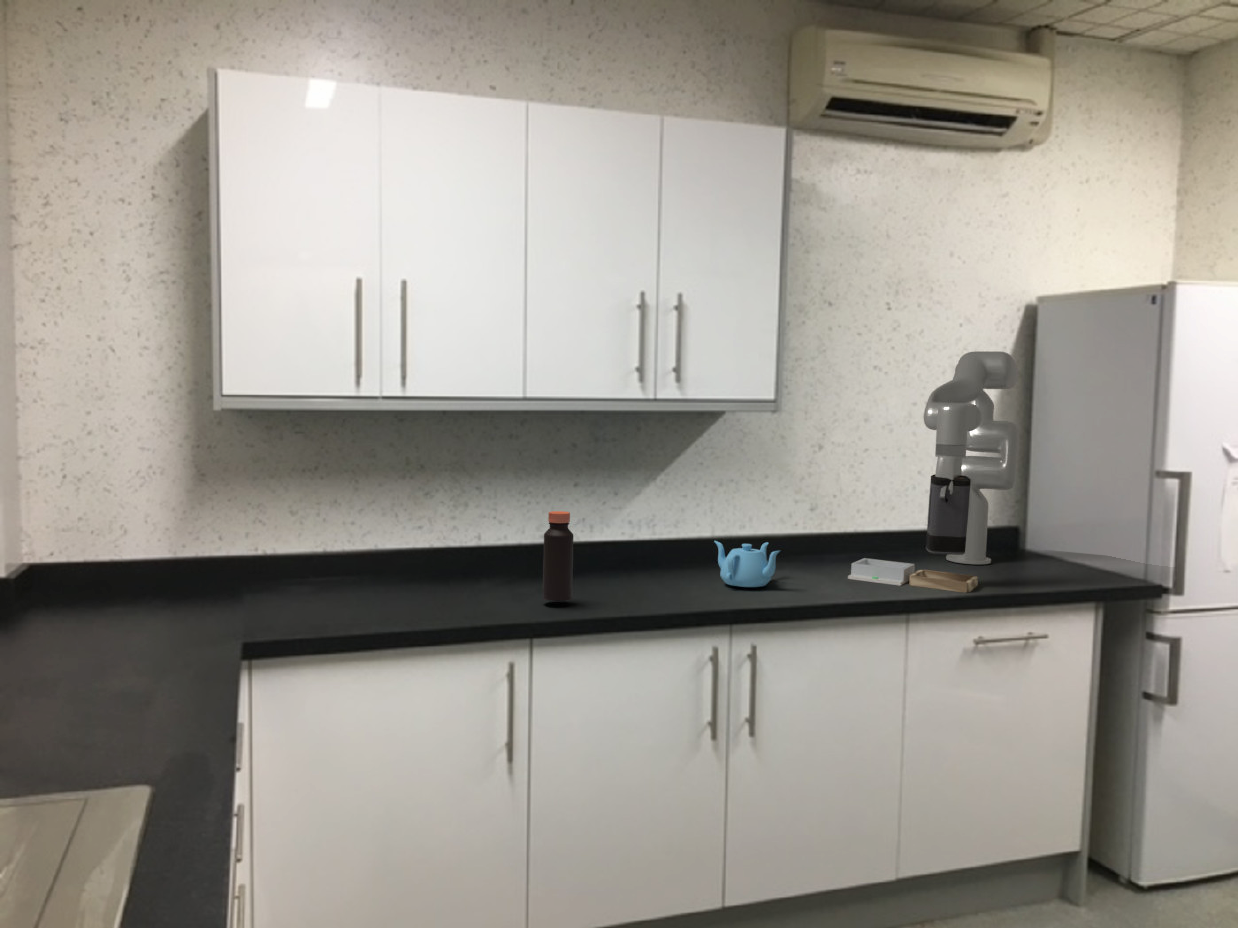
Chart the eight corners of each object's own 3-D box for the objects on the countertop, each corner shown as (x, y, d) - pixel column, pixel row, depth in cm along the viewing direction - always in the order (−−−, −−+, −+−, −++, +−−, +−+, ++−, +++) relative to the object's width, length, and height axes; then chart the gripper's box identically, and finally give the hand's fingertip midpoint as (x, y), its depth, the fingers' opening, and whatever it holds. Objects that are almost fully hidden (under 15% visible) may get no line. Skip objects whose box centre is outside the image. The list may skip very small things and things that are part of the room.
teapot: (721, 589, 230) (722, 548, 229) (711, 577, 245) (713, 538, 244) (779, 590, 231) (781, 549, 230) (766, 578, 246) (768, 539, 245)
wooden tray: (920, 578, 251) (920, 569, 251) (978, 585, 243) (978, 576, 243) (908, 585, 241) (908, 575, 241) (968, 592, 233) (969, 583, 233)
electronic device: (960, 549, 244) (966, 475, 241) (966, 555, 238) (972, 479, 235) (924, 548, 245) (929, 473, 242) (929, 553, 239) (934, 477, 236)
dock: (866, 570, 261) (866, 556, 261) (916, 576, 254) (917, 562, 254) (847, 578, 248) (848, 564, 247) (900, 585, 240) (901, 571, 240)
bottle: (536, 597, 214) (538, 511, 213) (561, 593, 219) (563, 510, 217) (553, 602, 209) (555, 515, 208) (577, 599, 213) (579, 513, 212)
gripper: (943, 449, 249) (940, 516, 251) (927, 452, 235) (924, 523, 236) (972, 450, 245) (969, 519, 247) (958, 454, 231) (954, 526, 232)
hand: (947, 520), depth 241 cm, fingers closed on electronic device, 4 cm apart
